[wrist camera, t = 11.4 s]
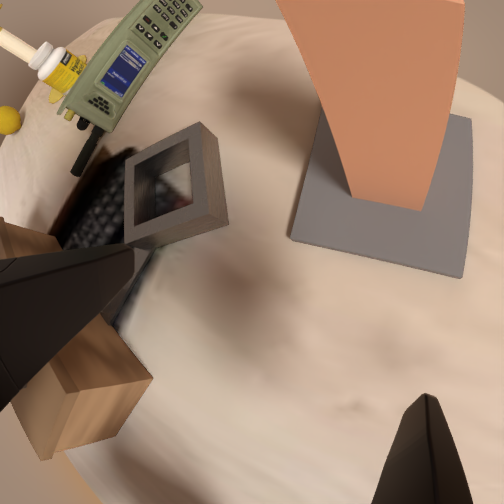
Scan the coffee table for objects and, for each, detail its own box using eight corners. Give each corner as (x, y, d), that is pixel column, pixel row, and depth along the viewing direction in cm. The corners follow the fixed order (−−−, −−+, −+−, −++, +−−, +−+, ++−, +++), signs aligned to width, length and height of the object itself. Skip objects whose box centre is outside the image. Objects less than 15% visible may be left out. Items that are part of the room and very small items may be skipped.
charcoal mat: (459, 278, 14) (462, 277, 13) (292, 240, 18) (289, 238, 18) (469, 123, 15) (471, 118, 14) (326, 101, 19) (324, 96, 18)
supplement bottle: (96, 83, 33) (45, 48, 24) (71, 107, 35) (21, 77, 26) (97, 64, 35) (52, 31, 26) (73, 87, 36) (29, 58, 27)
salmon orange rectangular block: (421, 211, 15) (465, 4, 3) (352, 197, 16) (273, -5, 5) (427, 148, 15) (437, -60, 3) (363, 137, 17) (303, -63, 5)
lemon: (30, 113, 44) (1, 98, 36) (18, 139, 43) (-12, 124, 36) (22, 116, 46) (-5, 102, 39) (11, 140, 46) (-17, 127, 38)
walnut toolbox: (157, 378, 20) (29, 397, 11) (116, 440, 21) (14, 466, 11) (55, 233, 29) (-24, 208, 20) (30, 293, 30) (-43, 281, 20)
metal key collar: (240, 303, 19) (220, 301, 16) (103, 326, 23) (80, 326, 21) (217, 138, 22) (200, 121, 20) (101, 195, 26) (81, 187, 24)
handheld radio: (208, 6, 28) (90, 183, 28) (190, 9, 29) (78, 176, 30) (178, -30, 22) (38, 160, 22) (160, -23, 23) (31, 154, 24)
